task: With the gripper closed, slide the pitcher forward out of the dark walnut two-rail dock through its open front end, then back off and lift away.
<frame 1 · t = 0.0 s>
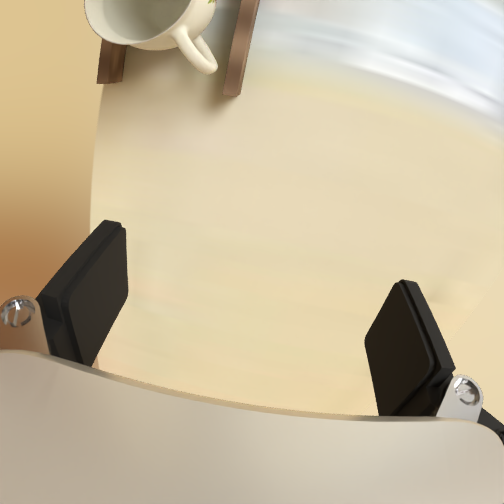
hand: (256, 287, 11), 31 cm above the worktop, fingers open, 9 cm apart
dock: (183, 17, 30), on the worktop
pitcher: (184, 17, 30), on the worktop
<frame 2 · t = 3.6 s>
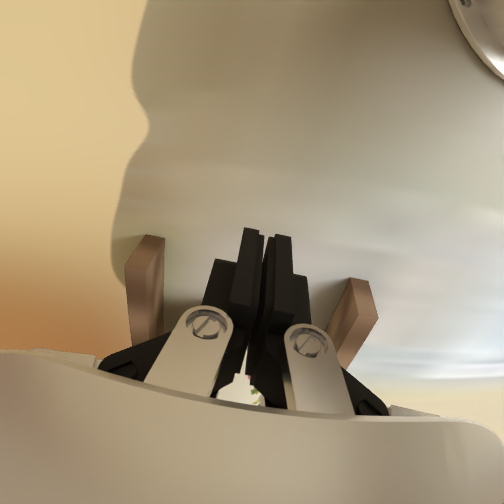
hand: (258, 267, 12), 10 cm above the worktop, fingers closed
dock: (238, 339, 28), on the worktop
pitcher: (239, 337, 29), on the worktop
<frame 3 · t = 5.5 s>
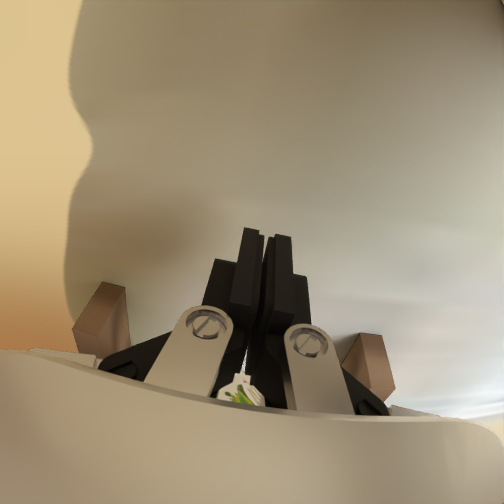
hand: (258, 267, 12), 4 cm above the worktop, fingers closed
dock: (224, 396, 23), on the worktop
pitcher: (224, 393, 23), on the worktop
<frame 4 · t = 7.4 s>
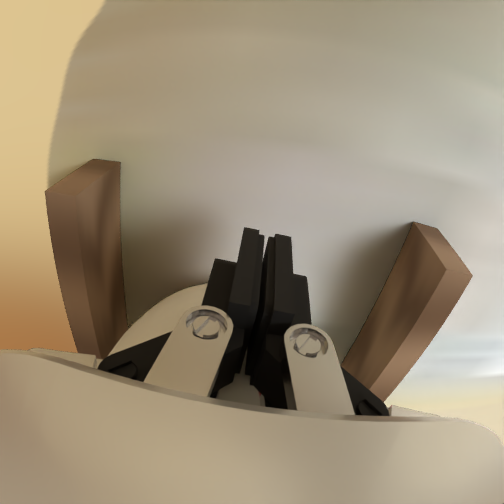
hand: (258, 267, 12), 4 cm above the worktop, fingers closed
dock: (238, 331, 19), on the worktop
pitcher: (238, 334, 19), on the worktop, touching gripper
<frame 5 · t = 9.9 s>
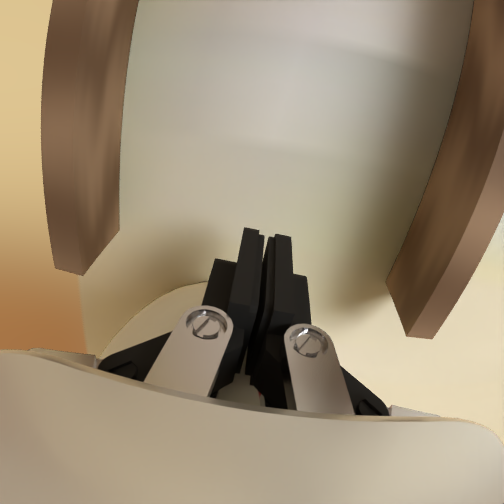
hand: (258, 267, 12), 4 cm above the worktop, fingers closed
dock: (297, 66, 11), on the worktop
pitcher: (232, 335, 19), on the worktop, touching gripper
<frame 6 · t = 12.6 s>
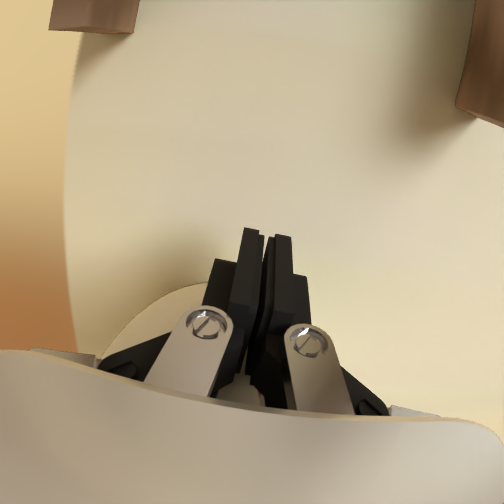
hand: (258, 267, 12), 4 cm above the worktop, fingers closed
pitcher: (233, 335, 19), on the worktop, touching gripper
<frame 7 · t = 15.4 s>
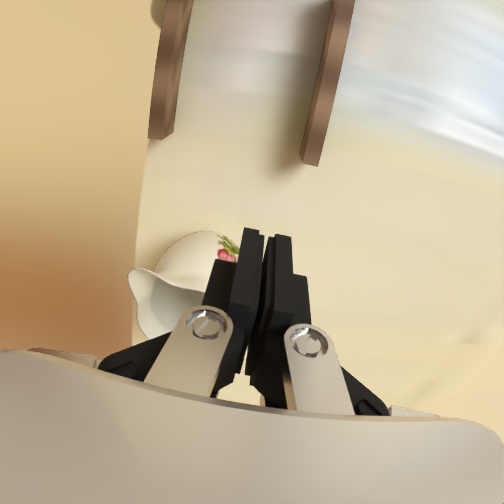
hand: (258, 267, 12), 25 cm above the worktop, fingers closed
dock: (250, 60, 29), on the worktop
pitcher: (215, 260, 42), on the worktop
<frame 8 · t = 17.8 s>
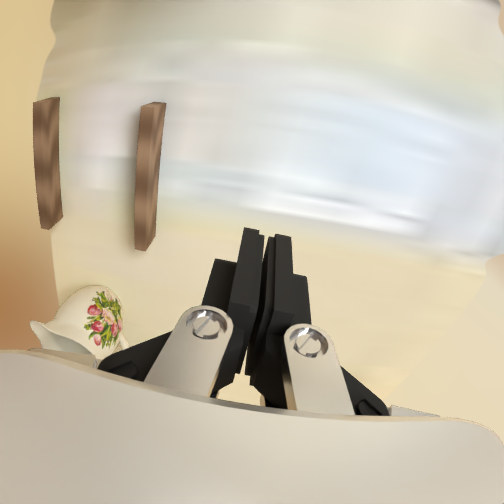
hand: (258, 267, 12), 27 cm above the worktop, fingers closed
dock: (100, 165, 38), on the worktop
pitcher: (107, 303, 51), on the worktop
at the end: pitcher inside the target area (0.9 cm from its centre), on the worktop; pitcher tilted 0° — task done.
